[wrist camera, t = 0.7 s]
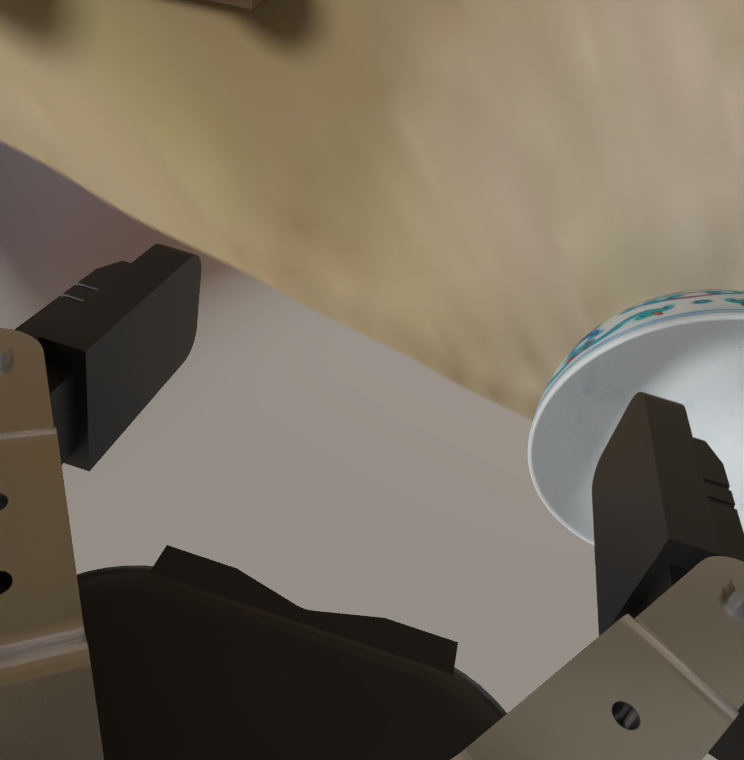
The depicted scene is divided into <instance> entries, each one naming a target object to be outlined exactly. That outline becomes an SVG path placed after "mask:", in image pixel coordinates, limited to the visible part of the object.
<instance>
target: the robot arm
mask: <svg viewBox="0 0 744 760" xmlns="http://www.w3.org/2000/svg"><path fill="white" fill-rule="evenodd" d="M200 279H201V261H200V258H199V256H197V255H195V254H191V253H188V252H185V251H182V250H178V249H175V248H172V247H169V246H165V245H162V244H155V245H154V246H153V247H151V248H150V249H149V250H148V251H146V252H145V253H144V254H142V255H141V256H140V257H138V258H137V259H136V260H135V261H133V262H132V263H128V262H125V261H120V262H117V263H114V264H111V265H108V266H104V267H101V268H98V269H96V270H94V271H93V272H92V273H90V274H89V275H88V276H86V277H85V278H84V279H82V280H81V281H80V282H78V285H77V286H76V285H74V286H73V287H71V288H70V289H69V290H67V291H66V292H65V293H64V295H63V297H61V296H59V297H58V298H57V299H55V300H54V301H52V302H51V303H50V304H48V305H47V306H46V307H44V308H43V309H42V310H40V311H39V312H38V313H37V314H35V315H34V316H32V317H31V318H30V319H28V320H27V321H26V322H24V323H23V324H21V325H20V326H19V327H18V328H16V329H15V330H11V329H4V328H0V760H702V759H703V758H704V757H705V755H706V754H707V753H709V754H710V755H712V756H713V757H715V758H716V759H718V760H744V532H743V528H742V525H741V522H740V518H739V515H738V512H737V509H734V507H735V502H734V498H733V495H732V491H730V490H729V487H730V485H729V481H728V478H727V475H726V471H725V468H724V465H723V463H722V462H721V460H720V459H719V458H718V457H717V455H716V454H715V453H714V451H713V450H712V449H711V447H710V446H709V445H708V444H707V442H706V441H704V440H701V439H697V438H694V437H693V436H692V432H691V428H690V424H689V420H688V416H687V412H686V409H685V406H684V405H683V404H680V403H677V402H674V401H671V400H667V399H664V398H661V397H657V396H654V395H651V394H648V393H644V392H638V393H636V394H635V395H634V397H633V398H632V399H631V401H630V403H629V405H628V406H627V408H626V410H625V412H624V414H623V416H622V418H621V419H620V421H619V423H618V425H617V427H616V429H615V431H614V432H613V434H612V436H611V438H610V440H609V442H608V444H607V445H606V447H605V449H604V451H603V453H602V455H601V457H600V459H599V461H598V464H597V466H596V469H595V473H594V477H593V482H592V507H593V526H594V546H595V565H596V583H597V584H596V585H597V604H598V622H599V637H598V638H597V639H596V640H594V641H593V642H592V643H591V644H589V645H588V646H587V647H586V648H585V649H584V650H582V651H581V652H580V653H579V654H577V655H576V656H575V657H574V658H573V659H572V660H570V661H569V662H568V663H567V664H566V665H564V666H563V667H562V668H561V669H560V670H559V671H557V672H556V673H555V674H554V675H553V676H551V677H550V678H549V679H548V680H547V681H545V682H544V683H543V684H542V685H541V686H539V687H538V688H537V689H536V690H535V691H533V692H532V693H531V694H530V695H529V696H527V697H526V698H525V699H524V700H523V701H522V702H520V703H519V704H518V705H517V706H516V707H514V708H513V709H512V710H511V711H510V712H508V713H506V712H505V710H504V709H503V708H502V707H501V706H500V705H499V703H498V702H497V701H496V700H495V699H494V698H493V697H492V696H491V695H490V694H489V693H488V692H487V691H486V690H484V689H483V688H482V687H481V686H480V685H479V684H477V683H476V682H475V681H474V680H472V679H471V678H470V677H468V676H467V675H466V674H464V673H462V672H461V671H460V670H458V669H456V668H455V667H454V665H455V658H456V652H457V645H458V642H455V641H452V640H449V639H446V638H443V637H440V636H437V635H434V634H431V633H428V632H425V631H422V630H419V629H416V628H413V627H410V626H407V625H404V624H401V623H398V622H395V621H392V620H389V619H386V618H379V617H369V616H360V615H350V614H340V613H330V612H320V611H311V610H306V609H303V608H301V607H299V606H297V605H295V604H294V603H292V602H290V601H289V600H287V599H285V598H284V597H282V596H281V595H279V594H277V593H276V592H274V591H272V590H271V589H269V588H268V587H266V586H264V585H263V584H261V583H259V582H257V581H256V580H254V579H253V578H251V577H250V576H248V575H246V574H245V573H243V572H242V571H240V570H238V569H237V568H233V567H231V566H227V565H224V564H222V563H219V562H216V561H212V560H210V559H207V558H204V557H201V556H198V555H194V554H192V553H189V552H186V551H183V550H180V549H177V548H174V547H171V546H168V545H167V546H166V547H165V549H164V551H163V552H162V554H161V555H160V557H159V558H158V560H157V562H156V563H155V565H154V566H119V567H108V568H103V569H97V570H93V571H88V572H84V573H81V574H78V575H77V574H76V567H75V560H74V553H73V546H72V538H71V531H70V523H69V516H68V509H67V502H66V495H65V487H64V480H63V473H62V464H63V463H66V464H69V465H72V466H75V467H78V468H81V469H84V470H87V471H90V470H91V469H92V468H93V467H94V465H95V464H96V463H97V462H98V461H99V460H100V459H101V457H102V456H103V455H104V454H105V453H106V451H107V450H108V449H109V448H110V447H111V446H112V445H113V443H114V442H115V441H116V440H117V439H118V438H119V437H120V435H121V434H122V433H123V432H124V431H125V430H126V428H127V427H128V426H129V425H130V424H131V423H132V421H133V420H134V419H135V418H136V417H137V415H138V414H139V413H140V412H141V411H142V410H143V409H144V408H145V406H146V405H147V404H148V403H149V402H150V401H151V399H152V398H153V397H154V396H155V395H156V394H157V393H158V391H159V390H160V389H161V388H162V386H164V384H165V383H166V382H167V381H168V380H169V379H170V377H171V376H172V375H173V374H174V373H175V372H176V370H177V369H178V368H179V367H180V366H181V365H182V363H183V362H184V361H185V360H186V358H187V357H188V355H189V353H190V351H191V348H192V346H193V343H194V339H195V336H196V330H197V317H198V305H199V292H200Z"/></svg>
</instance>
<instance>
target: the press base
mask: <svg viewBox="0 0 744 760" xmlns="http://www.w3.org/2000/svg"><path fill="white" fill-rule="evenodd" d="M210 1H214V2H219V3H223V4H228V5H232V6H237V7H241V8H246V9H250V10H252V9H253V8H255V7H256V6H258V5H260V4H261V3H263V2H264V1H266V0H210Z"/></svg>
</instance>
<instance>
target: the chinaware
mask: <svg viewBox="0 0 744 760" xmlns="http://www.w3.org/2000/svg"><path fill="white" fill-rule="evenodd" d="M638 392H644V393H648V394H651V395H654V396H657V397H661V398H664V399H667V400H671V401H674V402H677V403H680V404H683V405H684V406H685V409H686V412H687V416H688V420H689V424H690V428H691V432H692V436H693V437H694V438H697V439H701V440H704V441H706V442H707V444H708V445H709V446H710V447H711V449H712V450H713V451H714V453H715V454H716V455H717V457H718V458H719V459H720V460H721V462H722V463H723V465H724V468H725V471H726V475H727V478H728V481H729V485H730V487H729V490H730V491H732V495H733V498H734V502H735V507H734V509H737V512H738V515H739V518H740V522H741V525H742V528H743V532H744V292H742V291H733V290H694V291H685V292H679V293H673V294H669V295H664V296H661V297H657V298H654V299H650V300H647V301H645V302H642V303H639V304H637V305H635V306H632V307H630V308H628V309H626V310H624V311H622V312H620V313H618V314H616V315H615V316H613V317H611V318H610V319H608V320H606V321H605V322H603V323H602V324H601V325H599V326H598V327H596V328H595V329H594V330H593V331H591V332H590V333H589V334H588V335H587V336H585V337H584V338H583V339H582V340H581V341H580V342H579V343H578V344H577V345H576V346H575V347H574V348H573V349H572V350H571V352H570V353H569V354H568V355H567V356H566V358H565V359H564V360H563V362H562V363H561V364H560V366H559V367H558V369H557V370H556V371H555V373H554V375H553V376H552V378H551V380H550V381H549V383H548V385H547V387H546V389H545V391H544V393H543V395H542V397H541V400H540V402H539V405H538V407H537V410H536V413H535V415H534V419H533V422H532V426H531V430H530V434H529V440H528V464H529V470H530V474H531V478H532V481H533V484H534V486H535V488H536V490H537V493H538V495H539V496H540V498H541V500H542V501H543V503H544V504H545V506H546V507H547V508H548V510H549V511H550V512H551V513H552V514H553V515H554V517H555V518H556V519H557V520H558V521H559V522H560V523H562V524H563V525H564V526H565V527H566V528H567V529H569V530H570V531H571V532H572V533H574V534H575V535H577V536H578V537H580V538H581V539H583V540H584V541H586V542H588V543H590V544H592V545H594V526H593V507H592V482H593V477H594V473H595V469H596V466H597V464H598V461H599V459H600V457H601V455H602V453H603V451H604V449H605V447H606V445H607V444H608V442H609V440H610V438H611V436H612V434H613V432H614V431H615V429H616V427H617V425H618V423H619V421H620V419H621V418H622V416H623V414H624V412H625V410H626V408H627V406H628V405H629V403H630V401H631V399H632V398H633V397H634V395H635V394H636V393H638Z"/></svg>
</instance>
